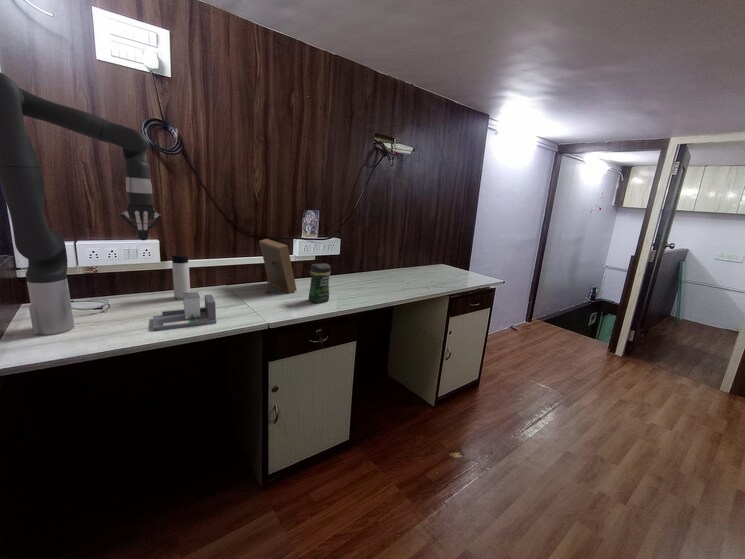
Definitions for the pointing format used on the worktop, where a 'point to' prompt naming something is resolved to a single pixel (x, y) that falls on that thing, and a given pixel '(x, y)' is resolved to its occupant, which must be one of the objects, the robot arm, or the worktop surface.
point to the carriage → (191, 305)
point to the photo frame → (278, 265)
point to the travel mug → (180, 276)
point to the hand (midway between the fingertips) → (143, 240)
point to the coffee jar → (319, 282)
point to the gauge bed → (178, 319)
